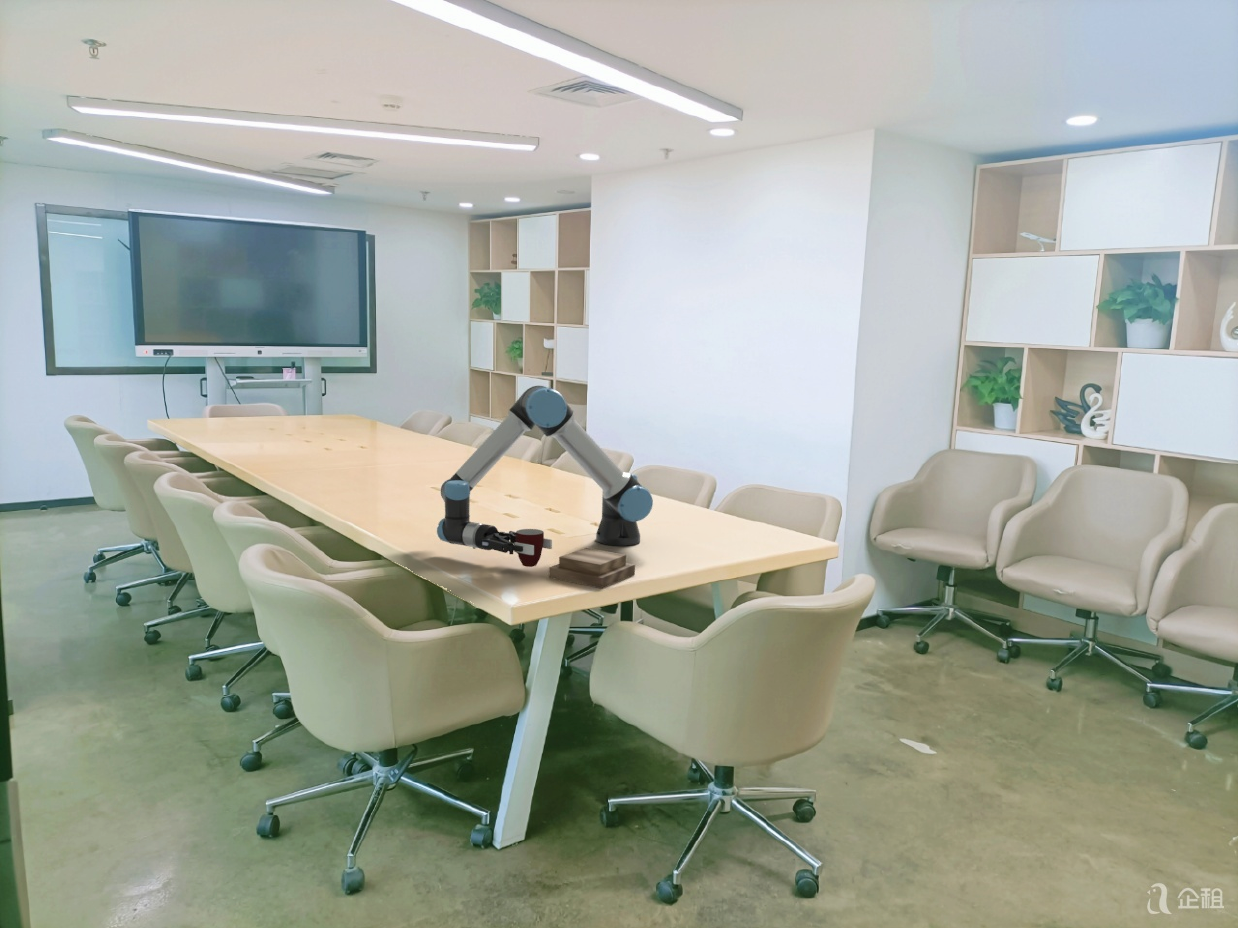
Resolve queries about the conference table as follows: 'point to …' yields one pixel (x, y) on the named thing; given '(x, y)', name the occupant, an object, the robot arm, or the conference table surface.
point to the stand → (592, 568)
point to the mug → (530, 538)
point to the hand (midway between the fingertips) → (542, 547)
